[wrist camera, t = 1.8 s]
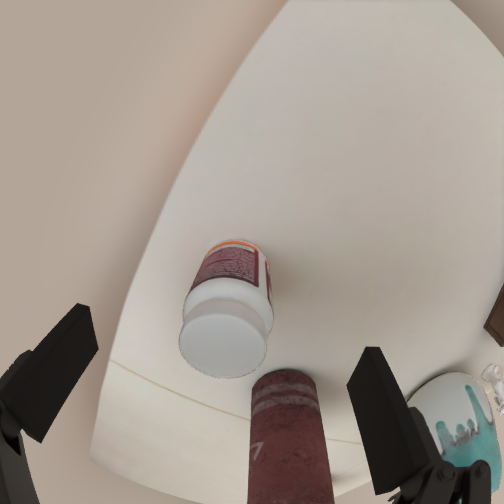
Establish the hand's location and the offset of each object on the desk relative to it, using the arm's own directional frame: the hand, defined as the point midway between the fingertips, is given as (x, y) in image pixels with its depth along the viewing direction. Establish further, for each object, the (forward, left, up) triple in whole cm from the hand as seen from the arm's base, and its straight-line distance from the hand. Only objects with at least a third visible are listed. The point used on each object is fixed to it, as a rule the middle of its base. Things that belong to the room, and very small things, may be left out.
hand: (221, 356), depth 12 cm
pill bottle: (0, 0, -9) cm, 9 cm away
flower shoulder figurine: (+12, +38, -9) cm, 41 cm away
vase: (+14, +26, -9) cm, 31 cm away
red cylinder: (+12, +6, -9) cm, 16 cm away
